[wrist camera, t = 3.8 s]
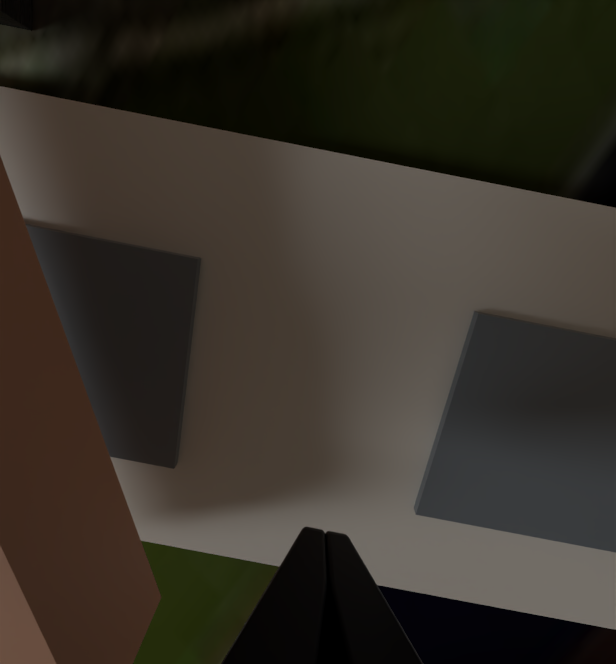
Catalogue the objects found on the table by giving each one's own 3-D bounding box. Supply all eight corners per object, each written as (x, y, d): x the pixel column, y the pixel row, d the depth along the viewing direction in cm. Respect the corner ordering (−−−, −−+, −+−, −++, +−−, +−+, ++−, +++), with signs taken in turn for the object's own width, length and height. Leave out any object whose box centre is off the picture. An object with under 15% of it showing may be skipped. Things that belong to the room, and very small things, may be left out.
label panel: (660, 613, 14) (693, 652, 13) (-104, 469, 14) (-146, 495, 12) (856, 260, 11) (925, 267, 9) (-146, 63, 10) (-209, 43, 9)
